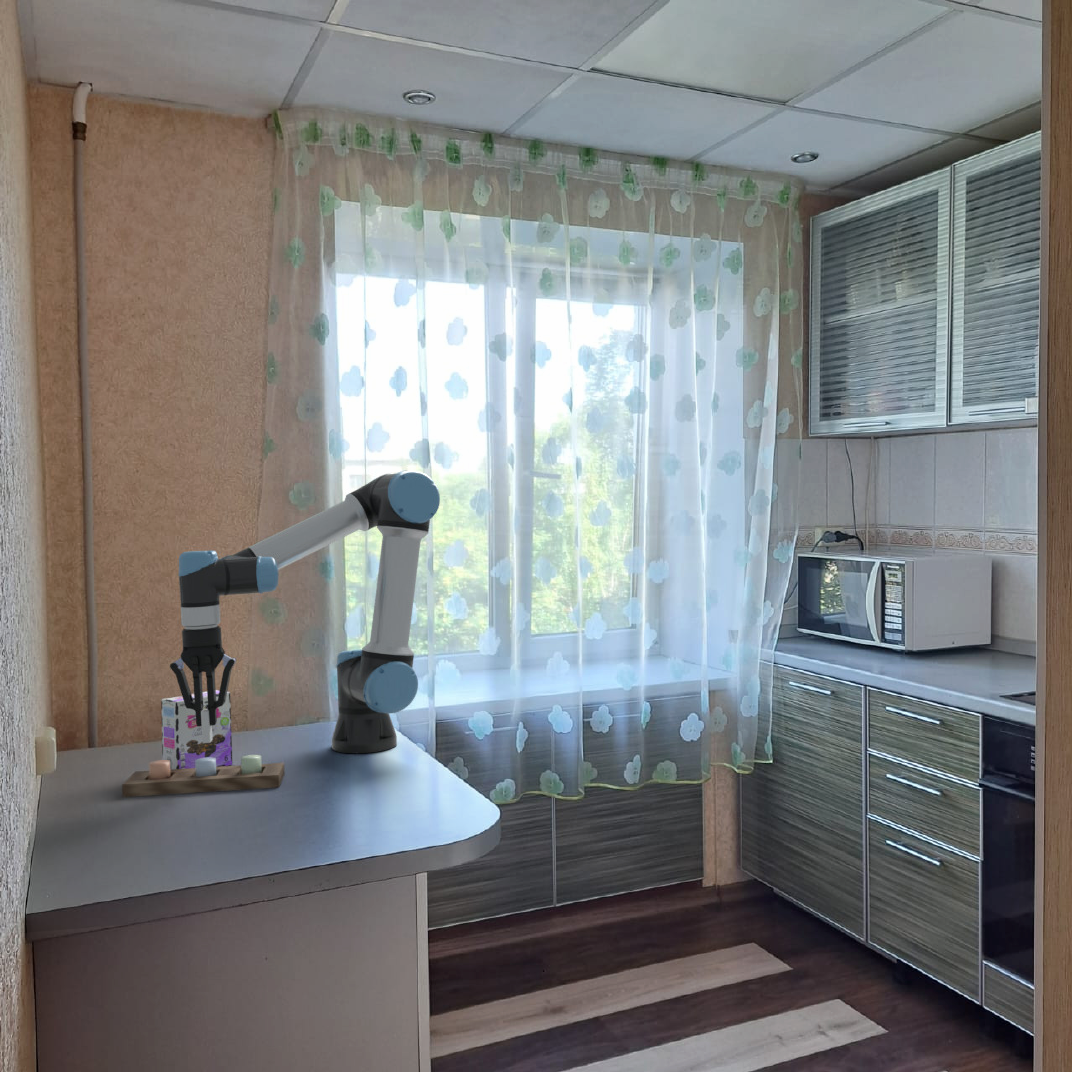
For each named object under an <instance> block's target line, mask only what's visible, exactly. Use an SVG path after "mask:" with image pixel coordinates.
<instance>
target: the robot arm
mask: <svg viewBox="0 0 1072 1072" xmlns="http://www.w3.org/2000/svg"><path fill="white" fill-rule="evenodd" d="M440 503H441V497H440V491H439V488H438V485H437V484H436V483H435V481H434V480H433V479H432V478H431V477H430V476H428V474H426V473H423V472H421V471H417V470H402V471H399V472H389V473H385V474H383V475H380V476H378V477H376V478H374V479H373V480H371V481H369V482H368V483H366V484H364V485H363V486H361V487H359V488H357V489H356V490H354V491H351V492H350V493H348V494H346V495H345V498H344V500H343V501H340V502H339V503H337V504H335V505H333V506H331V507H328V508H327V509H324V510H323V511H320V512H318V513H316V514H315V515H312V516H310V517H308V518H306V519H304V520H302V521H300V522H298V523H296V524H294V525H291V526H290V527H287V528H286V529H283V530H282V531H279V532H276V533H274V534H273V535H271V536H269V537H267V538H265V539H263V540H261V541H258V542H256V543H255V544H252V545H250V546H248V547H247V548H244V549H241V550H240V551H238V552H236V553H234V554H231V555H226V556H223V557H221V558H219V557H218V553H217V551H216V550H193V551H191V550H190V551H184V552H182V553H181V554H179V557H178V574H177V576H178V580H179V581H178V582H179V598H180V616H181V619H180V620H181V626H182V627H184V628H183V629H182V630H181V635H182V640H181V641H182V652H181V653H180V658H178V659H177V660H176V661H173V662H171V663H170V665H169V668H170V670H172V672H173V673H174V674H175V678H176V681H177V683H178V686H179V689H180V693H181V696H182V697H183V700H184V703H185V706H186V708H188V709H193V710H195V712H196V725H197V727H198V726H202V742H203V743H210V742H211V741H212V740H213V738H212V725H215V724H216V722H217V715H216V709H217V708H218V707H220V706H222V705H223V704H224V703H225V700H226V695H227V692H228V689H229V684H230V680H231V674H232V670H233V667H234V666H235V664H236V662H237V658H235V657H230V656H229V655H227V654H226V652H225V650H224V648H223V645H222V643H223V642H222V628H221V626H219V624H220V623H221V606H220V597H221V596H222V597H223V596H229V595H231V596H232V595H233V596H234V595H245V594H246V595H247V594H263V593H269V592H273V591H276V589H277V587H278V584H279V570H281V569H283V568H286V566H289V565H291V564H293V563H295V562H297V561H299V560H301V559H303V558H305V557H307V556H310V555H311V554H313V553H315V552H317V551H319V550H321V549H324V548H325V547H327V546H330V545H331V544H333V543H335V542H337V541H339V540H341V539H343V538H345V537H347V536H349V535H352V534H353V533H355V532H358V531H362V532H367V531H369V530H371V529H373V528H377V530H378V531H379V532H380V534H381V535H382V539H381V546H380V547H381V548H380V556H379V563H378V574H377V581H376V582H377V583H376V590H375V597H374V606H373V615H372V623H371V630H370V639H369V642H367V643H366V645H364V646H363V647H362V649H353V650H343V651H340V652H339V653H338V654H337V658H336V665H335V668H336V673H337V674H336V675H337V676H336V678H337V680H336V681H337V706H338V710H337V711H338V716H337V720H336V723H335V726H334V730H333V733H332V737H331V749H332V750H333V751H334V752H339V753H343V754H370V753H378V752H382V751H386V750H390V749H392V748H394V747H396V746H397V744H398V739H397V736H398V735H397V732H396V730H395V727H394V725H393V724H394V723H393V721H392V719H391V716H390V714H396V713H399V712H402V711H403V710H405V709H406V708H407V707H409V706H410V705H411V704H412V703H413V701H414V700H415V697H416V695H417V693H418V690H419V679H418V676H417V674H416V672H415V670H414V669H413V667H414V666H413V665H414V658H415V652H414V651H413V650H412V649H411V647H410V646H409V642H410V641H409V640H410V634H411V633H410V632H411V624H412V618H413V606H414V597H415V590H416V582H417V573H418V565H419V558H420V551H421V542H422V539H424V538H425V537H426V536H427V535H428V534H429V530H430V523H431V522H430V521H431V519H432V518H433V517H434V516H435V515H436V514H437V512H438V510H439V507H440ZM221 661H222V665H223V667H224V668H223V671H222V672H223V673H222V677H221V681H220V685H219V696H218V700H217V701H216V690H217V689H216V669H217V668H218V667H219V665H220V663H221ZM185 665H186V666H187V668H188V669H189V670H190V671H191V672H192V678H193V694H194V701H195V702H194V701H193V698H192V695H191V694H192V692H191V689H190V685H189V682H188V679H187V677H186V673H185V670H184V668H185ZM203 673H205V677H206V678H205V679H206V692H207V696H208V709H203V707H204V705H203V692H204V691H203Z"/></svg>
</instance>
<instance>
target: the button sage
mask: <svg viewBox="0 0 1072 1072" xmlns="http://www.w3.org/2000/svg"><path fill="white" fill-rule="evenodd" d="M261 764H262V755H260V754H249V755H244V756H241V757H240V765H241V774H251V773H262V767H261Z"/></svg>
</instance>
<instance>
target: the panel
mask: <svg viewBox="0 0 1072 1072" xmlns="http://www.w3.org/2000/svg"><path fill="white" fill-rule="evenodd" d="M261 767H262V773H251V774H241V764H240V765H228V766H221V767H216V776H201V777H196V768H187V769H170V774H171V778H168V779H152V780H150V779H149V770H141V771H140V770H139V771H134V772H133V773H132V774H131V775H130V776H129V777H128V778H127V779H126V780H125V781H124V782H123V783H122V785H121V787H122V789H121V790H122V794H121V795H122V798H130V797H144V796H145V797H146V796H161V795H176V794H177V795H178V794H191V793H192V794H193V793H194V794H195V793H207V792H210V793H211V792H222V791H223V792H225V791H241V790H243V791H244V790H258V789H271V788H272V789H273V788H280V786H281V784H282V782H283V779H284V777H285V775H286V773H285V762H274V763H272V762H271V763H261Z"/></svg>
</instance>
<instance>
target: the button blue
mask: <svg viewBox="0 0 1072 1072" xmlns="http://www.w3.org/2000/svg"><path fill="white" fill-rule="evenodd" d="M195 768H196V777H201V776H216V758H213V757H206V758H200V759H197V760H195Z"/></svg>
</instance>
